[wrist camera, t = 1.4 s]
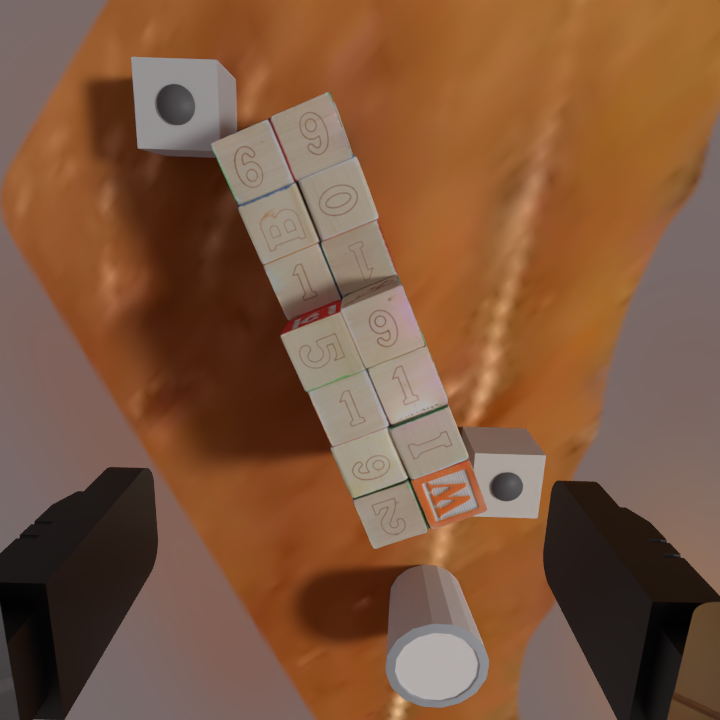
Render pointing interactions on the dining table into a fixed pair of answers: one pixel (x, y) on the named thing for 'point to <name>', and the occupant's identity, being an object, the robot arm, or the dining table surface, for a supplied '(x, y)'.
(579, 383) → the dining table surface
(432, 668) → the shot glass
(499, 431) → the ivory marked cube
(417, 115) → the dining table surface
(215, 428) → the dining table surface
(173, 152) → the grey marked cube
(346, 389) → the stack of blocks
